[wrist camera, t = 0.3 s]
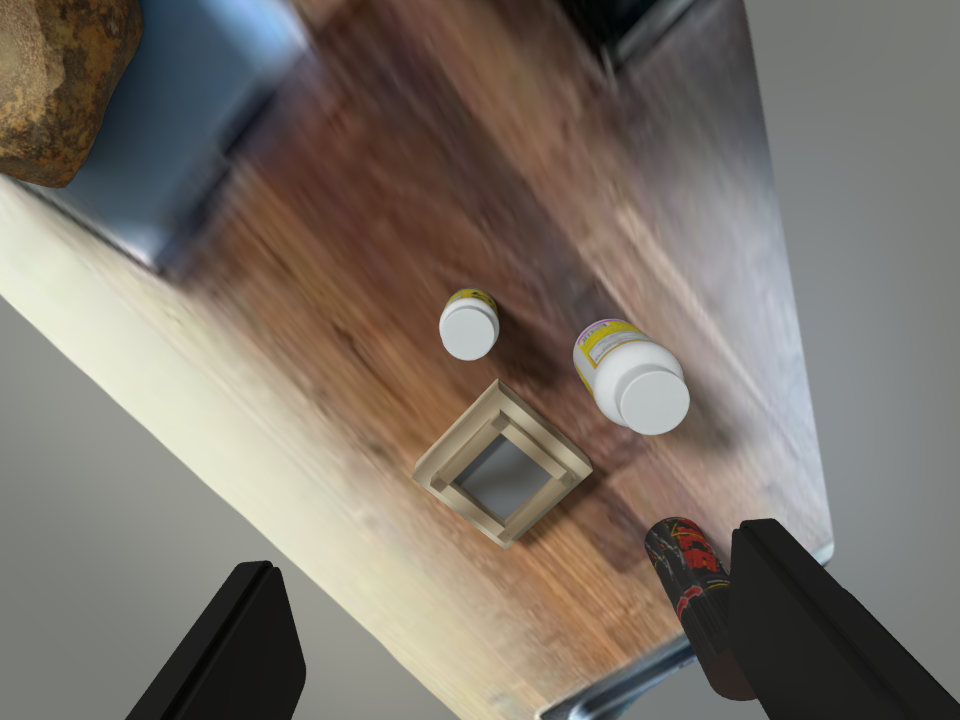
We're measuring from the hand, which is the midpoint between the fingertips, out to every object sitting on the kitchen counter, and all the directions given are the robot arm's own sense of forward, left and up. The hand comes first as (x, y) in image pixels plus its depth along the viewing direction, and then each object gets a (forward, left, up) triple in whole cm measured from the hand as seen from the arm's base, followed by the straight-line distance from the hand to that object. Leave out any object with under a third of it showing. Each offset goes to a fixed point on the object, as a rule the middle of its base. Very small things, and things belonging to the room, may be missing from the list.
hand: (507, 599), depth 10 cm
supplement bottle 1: (0, -2, -35) cm, 35 cm away
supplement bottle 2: (+11, +4, -35) cm, 37 cm away
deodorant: (+32, -6, -35) cm, 48 cm away
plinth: (+12, -11, -35) cm, 38 cm away
